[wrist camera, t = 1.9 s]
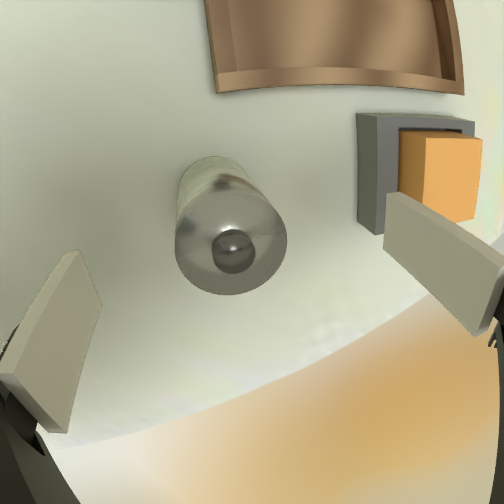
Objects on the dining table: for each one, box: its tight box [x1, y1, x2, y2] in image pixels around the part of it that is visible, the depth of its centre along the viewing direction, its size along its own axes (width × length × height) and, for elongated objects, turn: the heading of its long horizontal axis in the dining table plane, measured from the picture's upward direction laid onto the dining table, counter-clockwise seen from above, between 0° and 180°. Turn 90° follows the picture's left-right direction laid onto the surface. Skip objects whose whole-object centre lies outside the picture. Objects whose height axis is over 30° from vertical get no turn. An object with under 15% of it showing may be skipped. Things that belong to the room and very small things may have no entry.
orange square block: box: [397, 130, 483, 223], centre depth 18 cm, size 6×6×3 cm
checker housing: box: [356, 113, 475, 235], centre depth 19 cm, size 10×8×2 cm
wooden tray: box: [204, 0, 464, 95], centre depth 14 cm, size 18×9×2 cm, turn 97°
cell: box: [175, 156, 287, 295], centre depth 15 cm, size 4×4×9 cm
